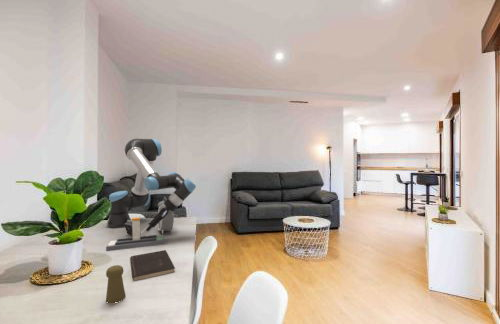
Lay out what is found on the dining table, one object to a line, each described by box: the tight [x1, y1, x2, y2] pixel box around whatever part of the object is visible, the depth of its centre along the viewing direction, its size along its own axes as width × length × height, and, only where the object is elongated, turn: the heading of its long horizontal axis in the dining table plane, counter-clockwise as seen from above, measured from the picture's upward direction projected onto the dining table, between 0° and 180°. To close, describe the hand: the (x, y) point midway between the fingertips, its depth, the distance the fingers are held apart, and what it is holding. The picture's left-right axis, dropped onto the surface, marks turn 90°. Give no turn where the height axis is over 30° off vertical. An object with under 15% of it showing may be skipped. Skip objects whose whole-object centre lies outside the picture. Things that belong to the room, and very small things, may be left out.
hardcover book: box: [129, 249, 176, 282], centre depth 114 cm, size 16×23×2 cm
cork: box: [105, 264, 126, 304], centre depth 87 cm, size 6×6×11 cm
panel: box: [105, 234, 165, 252], centre depth 141 cm, size 10×28×3 cm, turn 108°
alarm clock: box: [157, 196, 175, 235], centre depth 164 cm, size 16×9×22 cm, turn 27°
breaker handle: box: [131, 216, 142, 241], centre depth 141 cm, size 4×4×12 cm
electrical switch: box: [124, 219, 142, 237], centre depth 157 cm, size 9×5×9 cm, turn 57°
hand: (142, 234), depth 142 cm, fingers closed
